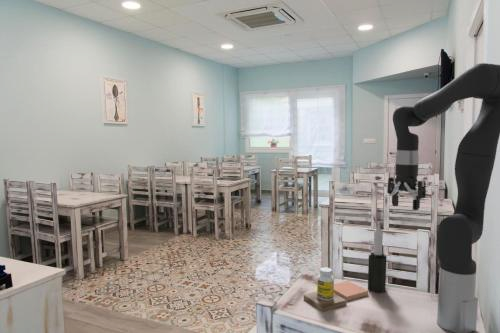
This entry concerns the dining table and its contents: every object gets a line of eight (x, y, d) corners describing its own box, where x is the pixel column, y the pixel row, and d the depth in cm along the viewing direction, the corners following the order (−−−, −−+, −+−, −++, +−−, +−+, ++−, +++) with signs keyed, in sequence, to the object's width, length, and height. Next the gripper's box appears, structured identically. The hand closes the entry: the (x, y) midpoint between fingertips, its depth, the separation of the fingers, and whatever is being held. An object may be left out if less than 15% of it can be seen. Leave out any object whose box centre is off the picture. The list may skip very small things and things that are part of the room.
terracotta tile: (368, 294, 127) (368, 290, 127) (346, 300, 122) (346, 296, 122) (348, 284, 136) (348, 280, 136) (327, 289, 131) (327, 285, 131)
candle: (366, 289, 131) (368, 222, 129) (373, 285, 135) (375, 220, 133) (379, 294, 127) (382, 224, 125) (386, 290, 131) (388, 222, 129)
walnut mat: (346, 304, 120) (346, 300, 119) (322, 311, 115) (322, 306, 115) (326, 293, 128) (326, 288, 128) (303, 298, 124) (303, 294, 124)
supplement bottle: (315, 299, 120) (315, 270, 119) (319, 292, 125) (320, 265, 124) (331, 302, 118) (331, 273, 117) (335, 296, 122) (336, 268, 122)
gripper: (431, 164, 124) (429, 210, 125) (397, 161, 136) (395, 203, 138) (417, 164, 120) (415, 212, 122) (383, 162, 133) (382, 205, 134)
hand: (405, 207), depth 130 cm, fingers open, 8 cm apart
